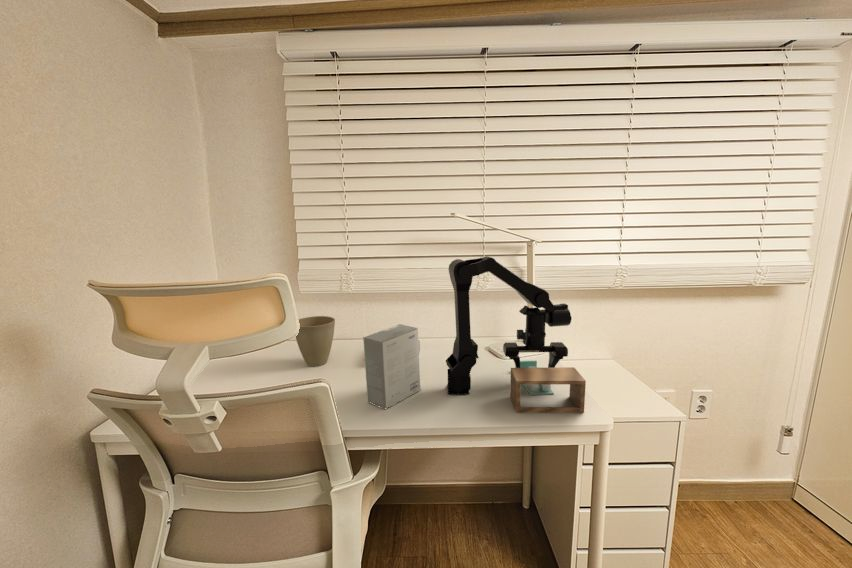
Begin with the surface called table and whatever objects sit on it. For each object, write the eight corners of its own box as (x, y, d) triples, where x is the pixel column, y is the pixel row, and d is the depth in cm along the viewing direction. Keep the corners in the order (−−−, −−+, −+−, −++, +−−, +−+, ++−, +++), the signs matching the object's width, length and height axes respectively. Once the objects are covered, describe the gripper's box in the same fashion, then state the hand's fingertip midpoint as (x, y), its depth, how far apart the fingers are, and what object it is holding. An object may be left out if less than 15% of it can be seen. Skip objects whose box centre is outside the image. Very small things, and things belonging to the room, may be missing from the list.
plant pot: (341, 365, 140) (339, 323, 137) (298, 373, 134) (295, 329, 131) (332, 352, 153) (330, 313, 150) (293, 359, 147) (289, 318, 144)
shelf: (515, 412, 105) (516, 381, 103) (510, 396, 114) (510, 367, 112) (584, 412, 104) (585, 380, 102) (572, 396, 113) (574, 367, 111)
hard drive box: (402, 384, 124) (400, 323, 120) (421, 390, 119) (419, 327, 115) (366, 402, 112) (362, 336, 109) (384, 410, 107) (381, 341, 104)
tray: (515, 372, 132) (515, 358, 131) (535, 371, 132) (536, 357, 131) (530, 396, 114) (530, 380, 114) (553, 395, 115) (554, 379, 114)
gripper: (558, 320, 127) (556, 365, 130) (500, 320, 128) (500, 365, 130) (569, 330, 116) (567, 379, 119) (506, 330, 117) (505, 379, 119)
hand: (534, 375), depth 122 cm, fingers open, 9 cm apart
